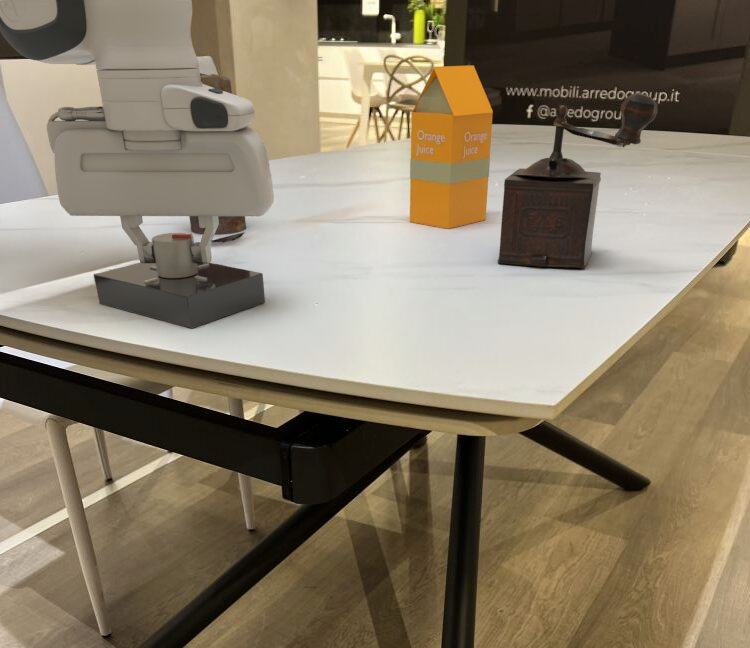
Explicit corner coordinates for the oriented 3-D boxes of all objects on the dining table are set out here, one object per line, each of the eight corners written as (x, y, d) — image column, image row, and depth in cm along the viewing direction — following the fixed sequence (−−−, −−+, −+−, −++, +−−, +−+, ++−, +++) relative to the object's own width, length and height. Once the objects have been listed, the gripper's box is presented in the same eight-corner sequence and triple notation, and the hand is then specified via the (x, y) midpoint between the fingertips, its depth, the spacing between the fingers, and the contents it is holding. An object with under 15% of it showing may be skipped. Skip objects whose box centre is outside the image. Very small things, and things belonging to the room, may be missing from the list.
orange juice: (408, 221, 110) (411, 66, 100) (447, 213, 116) (452, 65, 105) (449, 229, 106) (455, 67, 95) (487, 220, 111) (497, 65, 101)
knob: (151, 278, 73) (145, 238, 71) (164, 267, 76) (158, 229, 74) (191, 278, 73) (186, 238, 71) (202, 268, 76) (197, 229, 74)
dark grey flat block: (99, 303, 76) (92, 272, 75) (174, 281, 83) (169, 253, 82) (191, 328, 69) (187, 294, 68) (265, 302, 76) (262, 271, 74)
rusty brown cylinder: (212, 233, 105) (191, 70, 95) (257, 236, 103) (242, 69, 92) (181, 245, 99) (156, 72, 88) (229, 248, 97) (209, 71, 86)
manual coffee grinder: (493, 265, 88) (506, 93, 79) (510, 244, 97) (523, 87, 88) (629, 275, 84) (660, 94, 74) (633, 253, 93) (661, 88, 83)
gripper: (26, 109, 65) (62, 269, 72) (256, 107, 64) (270, 271, 71) (57, 104, 70) (88, 254, 77) (270, 103, 69) (281, 255, 76)
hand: (176, 262), depth 74 cm, fingers closed on knob, 4 cm apart
